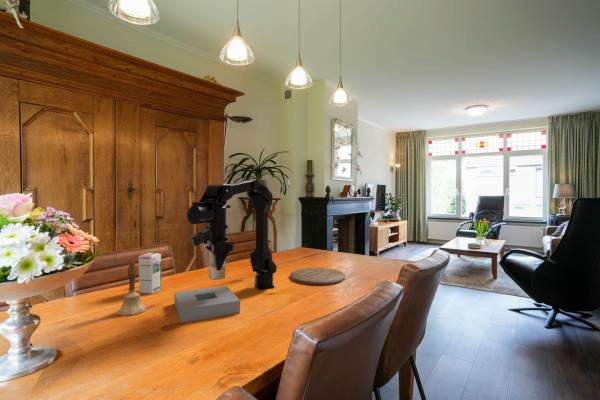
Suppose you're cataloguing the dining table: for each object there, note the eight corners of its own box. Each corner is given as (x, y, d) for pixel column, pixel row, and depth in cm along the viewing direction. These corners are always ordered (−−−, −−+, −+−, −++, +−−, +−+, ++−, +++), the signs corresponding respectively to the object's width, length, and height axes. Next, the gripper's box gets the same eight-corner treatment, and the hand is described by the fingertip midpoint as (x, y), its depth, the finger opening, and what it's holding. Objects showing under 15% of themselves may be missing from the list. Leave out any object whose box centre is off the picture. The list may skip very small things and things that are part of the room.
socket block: (226, 296, 117) (226, 285, 117) (240, 312, 101) (240, 300, 101) (174, 303, 109) (174, 292, 109) (180, 323, 93) (180, 309, 93)
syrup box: (152, 293, 119) (152, 255, 119) (138, 292, 120) (138, 255, 120) (161, 289, 125) (161, 253, 124) (148, 288, 126) (148, 252, 125)
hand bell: (126, 306, 106) (126, 259, 106) (150, 306, 106) (150, 259, 106) (111, 315, 98) (110, 264, 98) (137, 316, 98) (137, 265, 97)
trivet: (353, 276, 148) (353, 272, 148) (329, 289, 127) (329, 285, 127) (308, 269, 161) (308, 265, 161) (279, 280, 140) (279, 276, 140)
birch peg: (221, 275, 107) (222, 249, 107) (225, 278, 104) (225, 251, 103) (208, 277, 105) (208, 250, 105) (211, 280, 102) (211, 252, 101)
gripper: (187, 220, 109) (187, 265, 109) (197, 225, 92) (196, 278, 92) (219, 219, 114) (219, 262, 114) (234, 224, 97) (234, 274, 98)
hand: (216, 268), depth 104 cm, fingers closed on birch peg, 4 cm apart
